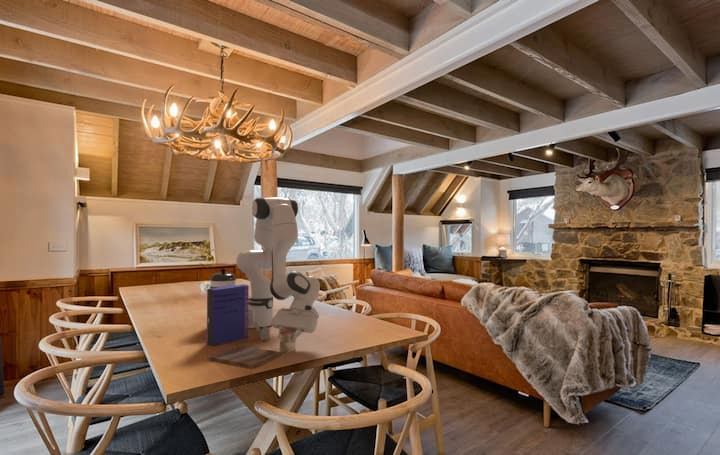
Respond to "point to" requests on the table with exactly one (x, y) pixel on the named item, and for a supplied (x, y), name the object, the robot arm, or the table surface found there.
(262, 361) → the walnut board
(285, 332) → the birch block
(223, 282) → the coffee press
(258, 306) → the robot arm
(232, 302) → the cereal box
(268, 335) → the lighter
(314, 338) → the table surface
